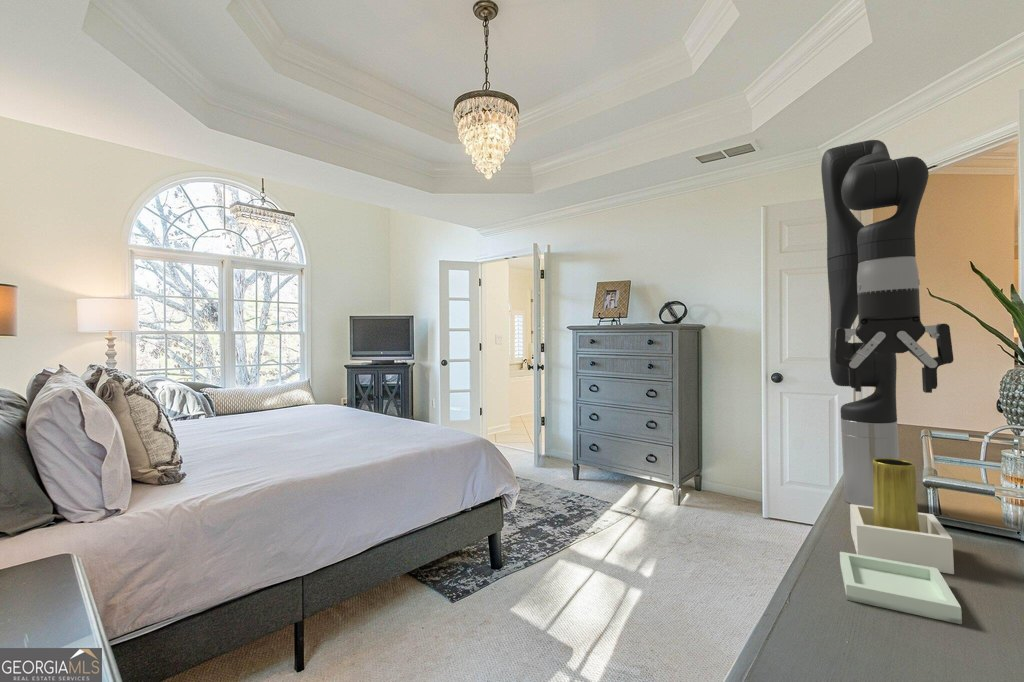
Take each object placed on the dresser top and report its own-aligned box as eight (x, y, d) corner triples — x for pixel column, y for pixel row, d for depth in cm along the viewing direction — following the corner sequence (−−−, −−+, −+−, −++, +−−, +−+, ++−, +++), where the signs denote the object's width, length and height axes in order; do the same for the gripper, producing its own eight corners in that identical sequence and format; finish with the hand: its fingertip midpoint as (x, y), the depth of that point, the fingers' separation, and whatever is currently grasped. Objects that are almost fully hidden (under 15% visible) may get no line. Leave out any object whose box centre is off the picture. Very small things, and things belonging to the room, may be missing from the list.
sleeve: (851, 532, 80) (849, 504, 81) (934, 545, 75) (933, 514, 75) (858, 557, 71) (856, 525, 71) (954, 574, 65) (952, 539, 65)
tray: (840, 564, 69) (839, 551, 69) (937, 582, 63) (937, 568, 63) (846, 599, 60) (846, 584, 60) (962, 624, 54) (961, 607, 54)
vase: (933, 561, 69) (928, 467, 70) (886, 558, 70) (882, 466, 71) (906, 544, 75) (902, 457, 75) (864, 542, 76) (861, 456, 77)
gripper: (941, 286, 71) (945, 389, 72) (830, 294, 79) (834, 388, 79) (955, 282, 65) (960, 396, 65) (833, 291, 73) (837, 393, 73)
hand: (891, 391), depth 72 cm, fingers open, 8 cm apart
